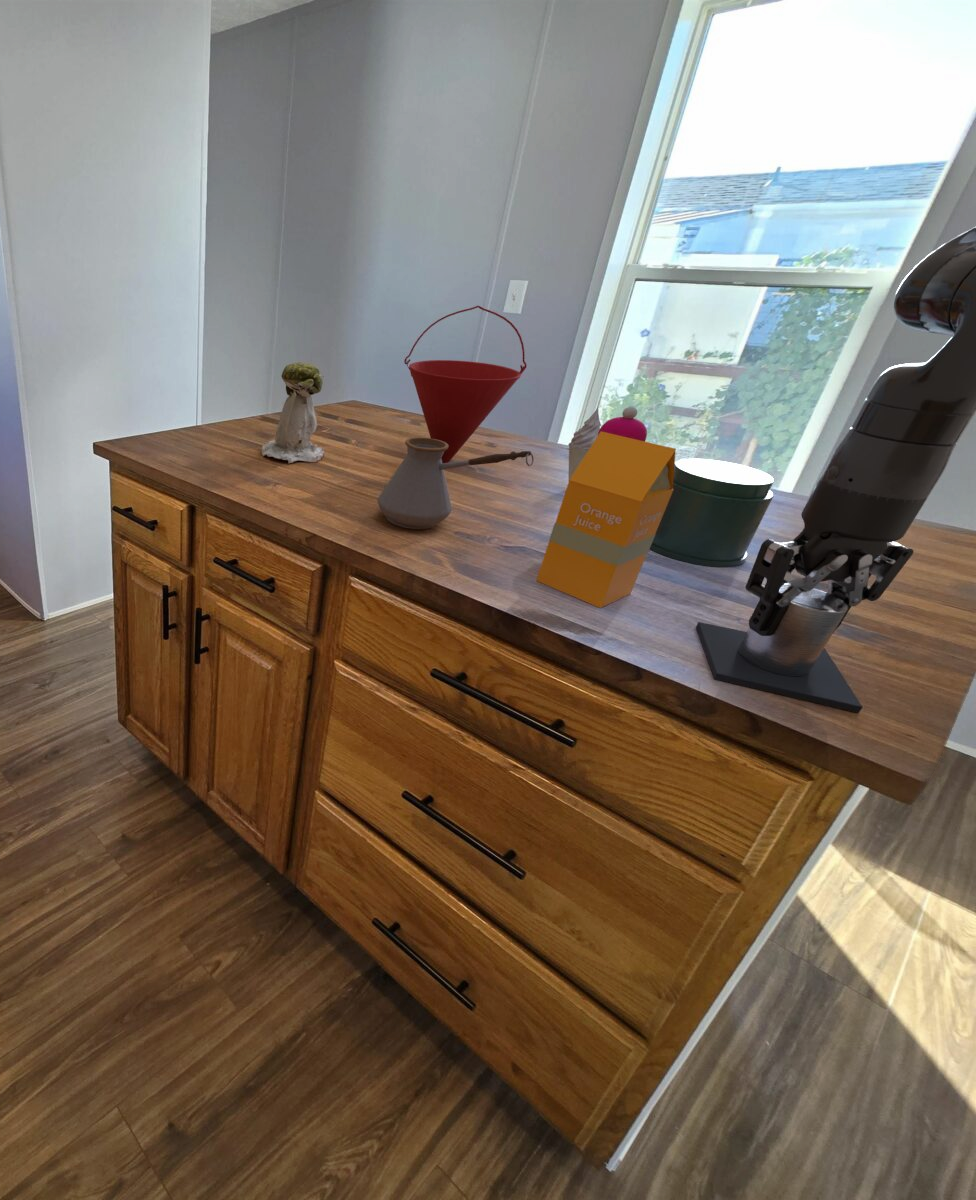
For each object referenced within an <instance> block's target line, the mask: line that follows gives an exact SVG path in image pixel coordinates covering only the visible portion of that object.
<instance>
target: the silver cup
mask: <svg viewBox="0 0 976 1200" xmlns="http://www.w3.org/2000/svg"><path fill="white" fill-rule="evenodd" d="M789 586H790V583H785V584H784V585H783V586H781V587H780V589H779V592H780V593H783V592H784V591H785V590H786V589H787V588H788V587H789ZM786 607H787V609H786V611H785V613H784V615H783V617H782V618H781V620H780V622H779V624H778V626H777V627H776V629H775V631H774V633H773V634H772V635H771V636H761V635H759V634H758V633H756V632H755V631H753V630H752V629H750V627H749V626H748V629H747V631H746V632H747V633H746V635H745V637H744V638H743V640H742V642H741V644H740V646H739V648H738V653H739V654H740V656H741V657H742V658H744V659H745V660H746V661H748V662H749V663H751V664H753V665H755V666H757V667H759V668H761V669H764V670H766V671H769V672H772V673H776V674H780V675H784V676H792V677H800V676H805V675H807V674H808V673H809V672H810V670H811V669H812V667H813V665H814V664H815V662H816V660H817V659H818V657H819V655H820V654H821V652H822V651H823V649H824V648H826V645H827V644H828V643H829V641H830V639H831V637H832V636H833V635H834V634H835V632H836V630H837V629H838V628H837V626H838V624H839V623H840V621H841V619H842V618H843V616H844V614H845V613H846V611H847V610H848V606H847V604H846V603H845V602H843V601H842V600H841V599H839V598H837V597H835V596H833V595H831V594H829V593H828V591H827V592H826V591H824V590H821V589H818V588H815V587H814V588H813V589H812V590H810V591H808V592H802V593H800V594H799V595H798V596H797V597H796V598H795V599H794V600H792V601H791V602H790V603H789V604H788V605H787V606H786ZM836 628H837V629H836ZM835 629H836V630H835ZM834 631H835V632H834Z"/></svg>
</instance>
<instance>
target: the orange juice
mask: <svg viewBox="0 0 976 1200" xmlns="http://www.w3.org/2000/svg"><path fill="white" fill-rule="evenodd" d="M676 450H677V448H674V447H670V446H665V445H661V444H657V443H654V442H649V441H645V442H644V441H640V440H636V439H631V438H627V437H623V436H619V435H614V434H610V433H606V432H600V433H599V435H598V437H597V438H596V440H595V441H594V443H593V444H592V446H591V447H590V449H589V450H588V452H587V453H586V455H585V456H584V458H583V460H582V461H581V463H580V464H579V466H578V467H577V469H576V470H575V472H574V473H573V475H572V476H571V478H570V479H569V478H568V482H569V483H567V485H566V486H567V487H566V489H565V492H564V496H563V499H562V501H561V504H560V508H559V511H558V514H557V517H556V519H555V522H554V524H553V527H552V530H551V533H550V536H549V539H548V544H547V547H546V549H545V553H544V557H543V560H542V563H541V566H540V568H539V572H538V575H537V577H536V582H537V583H541V584H544V585H546V586H548V587H550V588H552V589H554V590H557V591H559V592H562V593H564V594H567V595H569V596H571V597H574V598H576V599H578V600H580V601H583V602H586V603H588V604H590V605H593V606H595V607H596V608H599V609H602V608H604V607H605V606H608V605H610V604H612V603H614V602H617V601H618V600H620V599H623V598H624V597H627V596H629V595H631V593H632V592H633V589H634V586H635V584H636V581H637V579H638V577H639V574H640V572H641V570H642V567H643V565H644V562H645V560H646V557H647V555H648V553H649V551H650V550H651V549H650V547H651V544H652V542H653V539H654V537H655V535H656V534H655V533H656V531H657V528H658V526H659V524H660V521H661V519H662V516H663V514H664V512H665V509H666V507H667V504H668V502H669V499H670V497H671V495H672V492H673V490H674V489H673V478H674V465H675V462H676Z"/></svg>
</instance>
